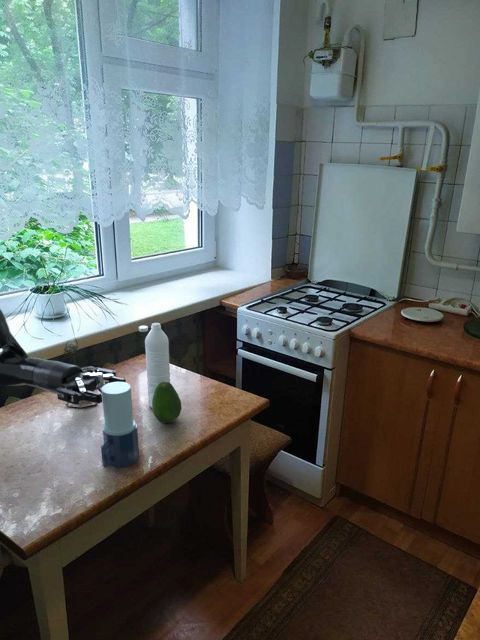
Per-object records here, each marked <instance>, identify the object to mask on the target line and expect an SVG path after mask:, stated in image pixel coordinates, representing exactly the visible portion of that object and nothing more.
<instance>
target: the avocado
mask: <svg viewBox="0 0 480 640" xmlns="http://www.w3.org/2000/svg"><path fill="white" fill-rule="evenodd" d="M151 409H152V412H153V414H154V417H155V418H156V419H157V421H158V422H160V423H162V424H163V423H164V424H168V423H173V422H174V421H176V420H177V419H178V418H179V417H180V415H181V411H182V401H181V398H180V395H179V394H178V392H177V390H176V389H175V388H174V386H173V384H172V383H171V382H170V383H169V382H161V383H159V384H158V386H157V387H156V389H155V392H154V396H153V400H152V407H151Z"/></svg>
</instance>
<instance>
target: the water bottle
mask: <svg viewBox="0 0 480 640" xmlns="http://www.w3.org/2000/svg"><path fill="white" fill-rule="evenodd" d="M150 328H151V329H150V331H149V326H147V325H140V326H138V332H141V333H145V332H148V331H149V332H148V333H147V335H146V336H145V339H144V348H145V364H146V365H145V366H146V367H145V368H146V380H147V381H146V382H147V398H148V399H147V400H148V406H149V407H150V408H152V400H153V396H154V392H155V389H156V387H157V386H158V384H159V383H161V382H169V383H171V372H170V371H171V370H170V369H171V368H170V367H171V365H170V350H169V349H170V345H169V342H170V341H169V337H168V336H167V335H166V333H165V332H164V331H163V329H162V326H161V323H159V322H152V323H151V326H150Z"/></svg>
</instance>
